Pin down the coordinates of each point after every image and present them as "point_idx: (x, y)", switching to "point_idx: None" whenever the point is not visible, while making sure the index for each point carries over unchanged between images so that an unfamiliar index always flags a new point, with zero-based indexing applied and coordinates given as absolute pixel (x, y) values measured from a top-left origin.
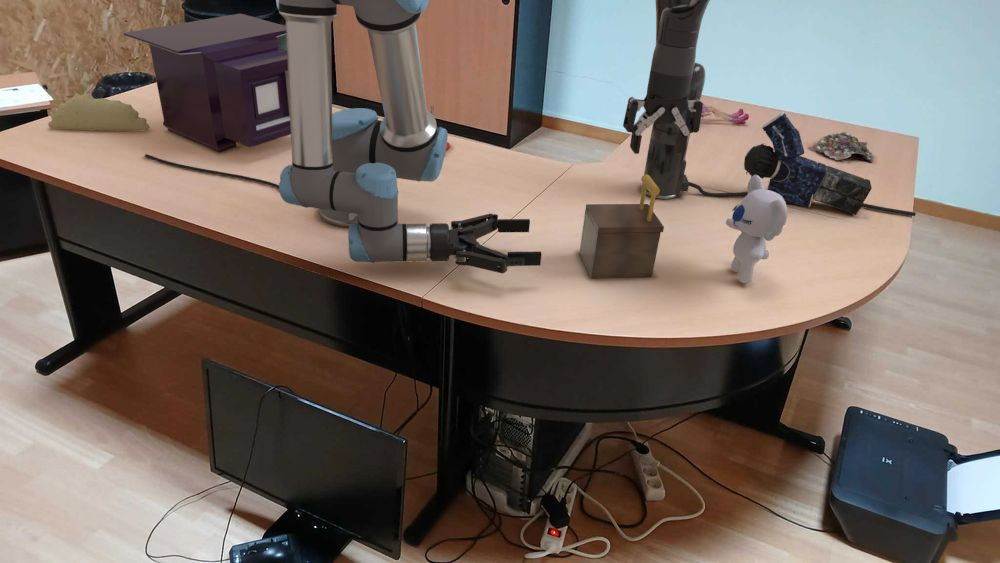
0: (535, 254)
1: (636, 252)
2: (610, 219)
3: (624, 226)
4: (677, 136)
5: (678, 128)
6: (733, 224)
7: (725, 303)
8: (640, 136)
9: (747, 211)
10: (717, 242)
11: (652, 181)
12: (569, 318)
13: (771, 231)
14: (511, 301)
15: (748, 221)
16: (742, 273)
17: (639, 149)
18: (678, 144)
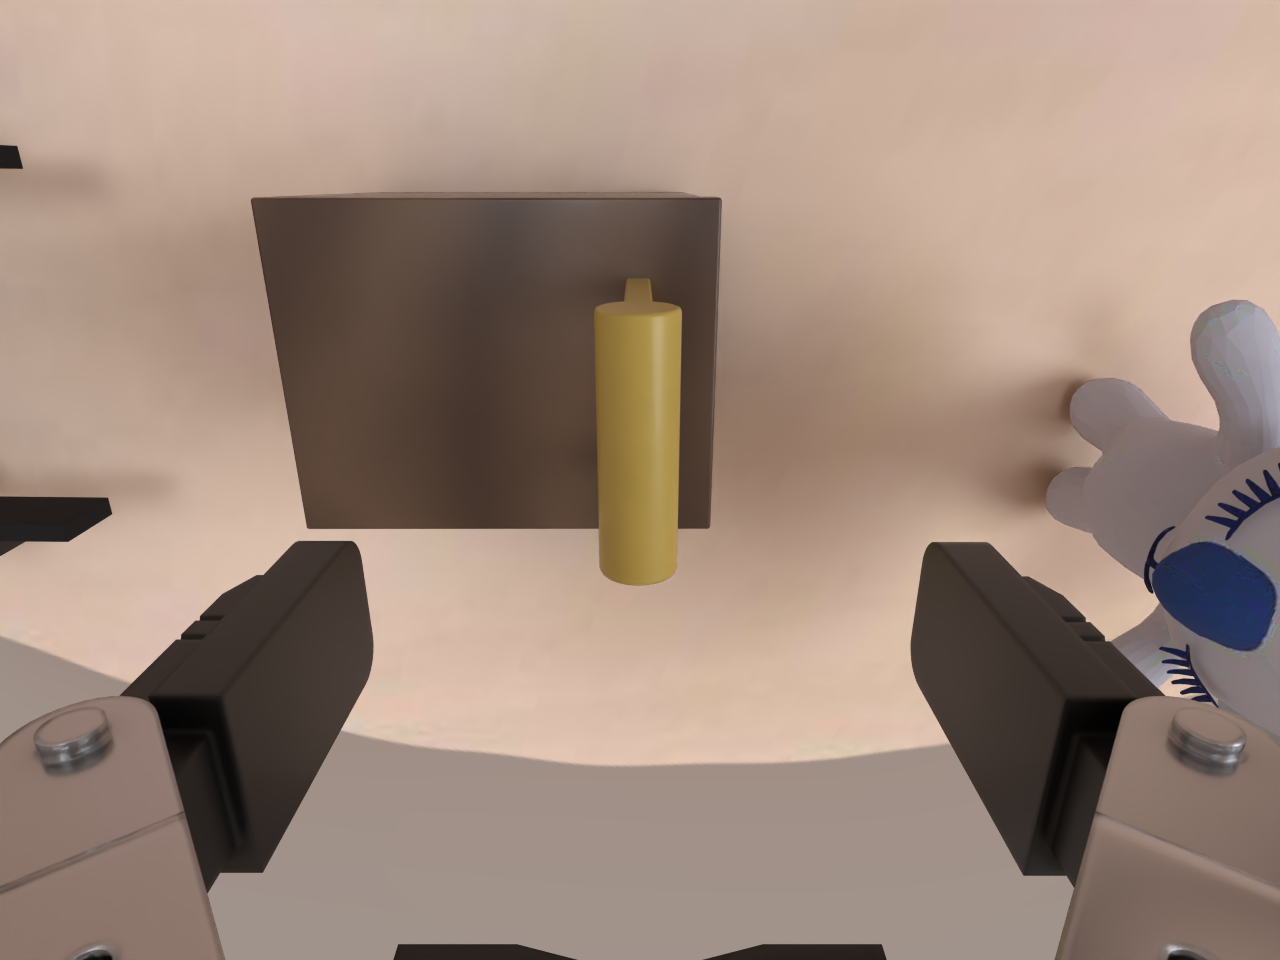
0: (42, 539)
1: None
2: (394, 434)
3: (466, 521)
4: (1021, 675)
5: (1113, 748)
6: (1214, 385)
7: (900, 615)
8: (239, 870)
9: (1249, 673)
10: (1179, 94)
11: (647, 472)
12: None
13: None
14: (76, 567)
15: (1198, 689)
16: (1066, 515)
17: (349, 711)
18: (960, 702)
